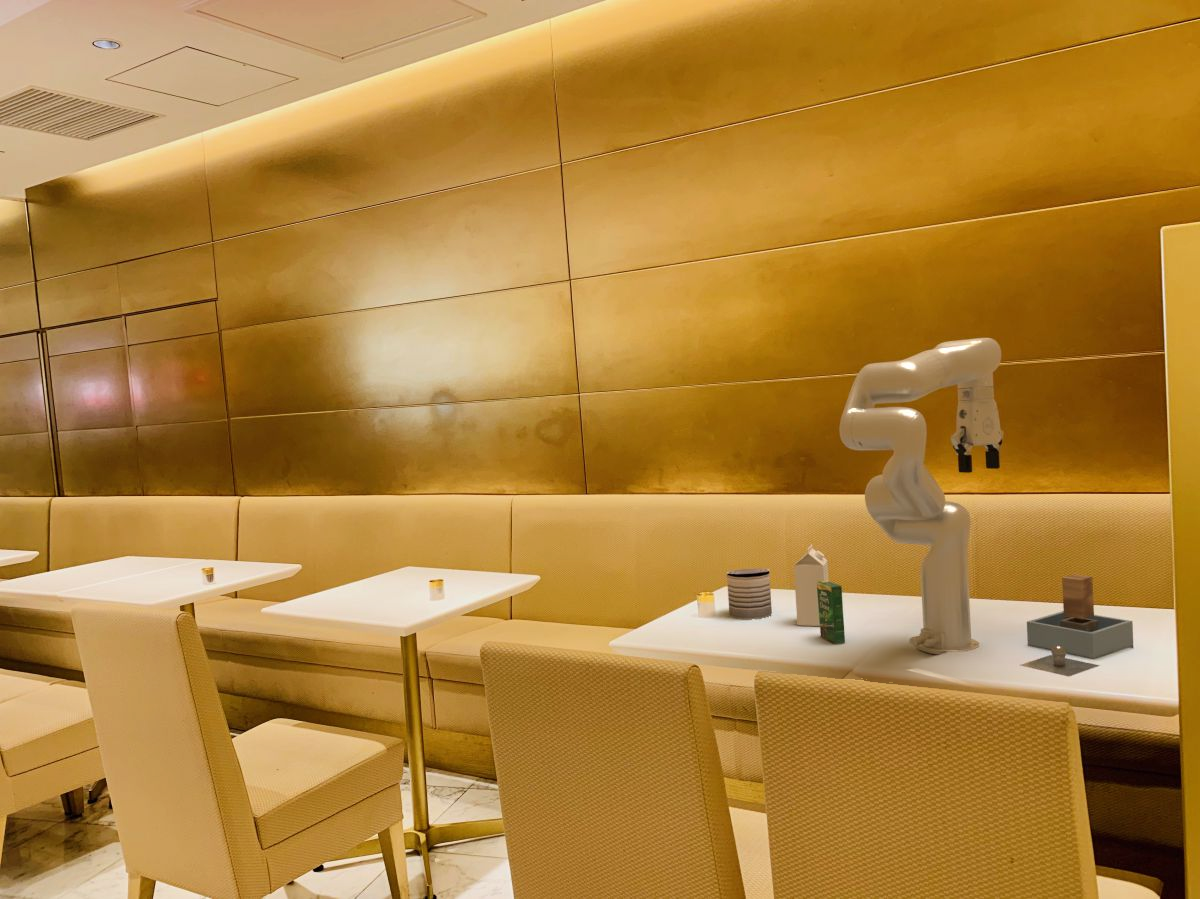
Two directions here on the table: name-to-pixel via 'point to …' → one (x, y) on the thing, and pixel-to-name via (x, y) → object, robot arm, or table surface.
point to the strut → (1078, 603)
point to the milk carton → (809, 586)
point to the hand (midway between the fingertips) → (979, 470)
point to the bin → (1081, 635)
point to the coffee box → (831, 611)
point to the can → (749, 594)
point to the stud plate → (1060, 670)
